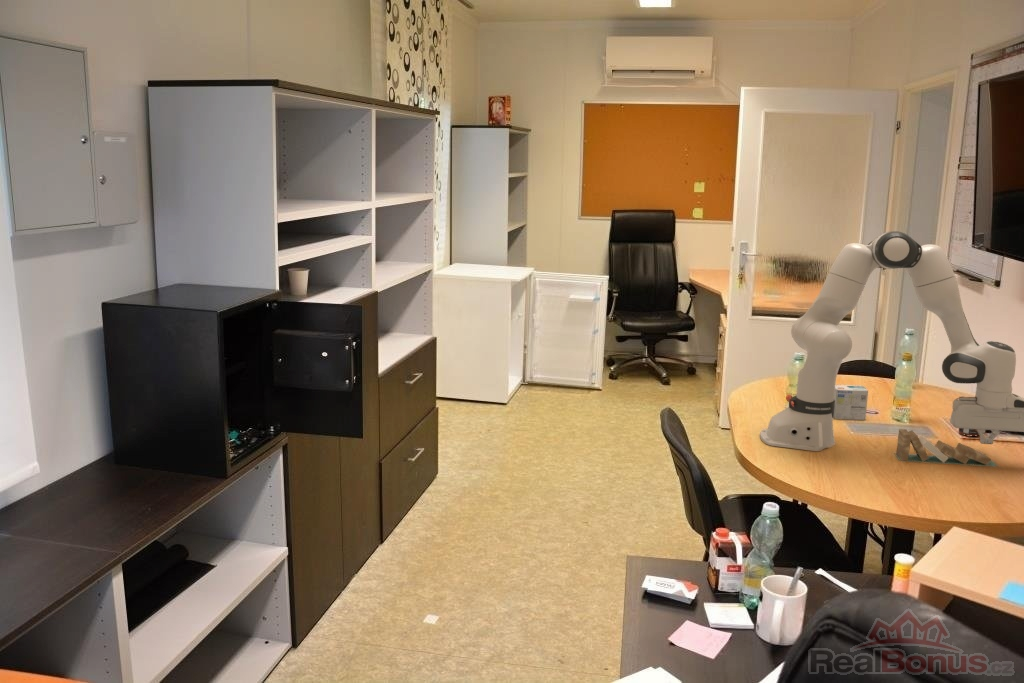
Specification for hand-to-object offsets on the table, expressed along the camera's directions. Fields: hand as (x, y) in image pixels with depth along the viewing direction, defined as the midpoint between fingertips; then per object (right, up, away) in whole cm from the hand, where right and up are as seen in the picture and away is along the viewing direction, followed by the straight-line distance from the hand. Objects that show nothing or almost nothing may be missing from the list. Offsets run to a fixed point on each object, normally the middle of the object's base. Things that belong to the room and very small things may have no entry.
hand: (986, 443), depth 236 cm
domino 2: (-16, -5, +4) cm, 17 cm away
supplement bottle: (+10, -1, +26) cm, 28 cm away
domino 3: (-11, -4, +3) cm, 12 cm away
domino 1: (-22, -5, +5) cm, 23 cm away
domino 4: (-5, -5, +2) cm, 7 cm away
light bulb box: (-22, +3, +44) cm, 49 cm away
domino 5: (+1, -5, +1) cm, 5 cm away
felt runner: (-10, -6, +3) cm, 12 cm away
